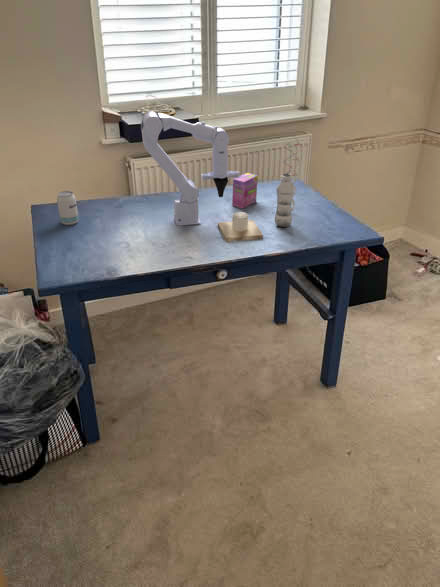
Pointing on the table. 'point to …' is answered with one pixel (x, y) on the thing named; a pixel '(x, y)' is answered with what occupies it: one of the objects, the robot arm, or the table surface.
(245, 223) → the cap
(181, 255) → the table surface
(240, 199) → the box
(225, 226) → the stud base
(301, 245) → the table surface
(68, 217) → the beverage can
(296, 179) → the dna model
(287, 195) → the plastic bottle
